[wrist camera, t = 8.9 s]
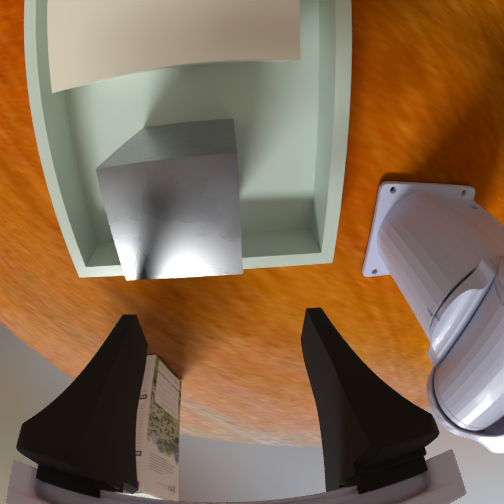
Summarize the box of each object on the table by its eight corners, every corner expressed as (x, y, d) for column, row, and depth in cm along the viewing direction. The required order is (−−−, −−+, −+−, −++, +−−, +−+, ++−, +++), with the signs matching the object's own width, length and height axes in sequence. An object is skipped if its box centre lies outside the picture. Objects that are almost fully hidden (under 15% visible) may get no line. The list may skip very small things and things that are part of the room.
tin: (233, 118, 15) (237, 153, 10) (237, 200, 18) (242, 273, 12) (143, 127, 15) (95, 168, 9) (156, 206, 18) (126, 279, 12)
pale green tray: (324, -58, 9) (344, -79, 6) (318, 232, 21) (332, 262, 18) (56, -25, 9) (27, -35, 6) (96, 247, 20) (79, 277, 17)
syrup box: (112, 360, 28) (88, 488, 16) (158, 351, 27) (143, 496, 15) (141, 386, 31) (128, 501, 19) (184, 380, 30) (181, 506, 19)
